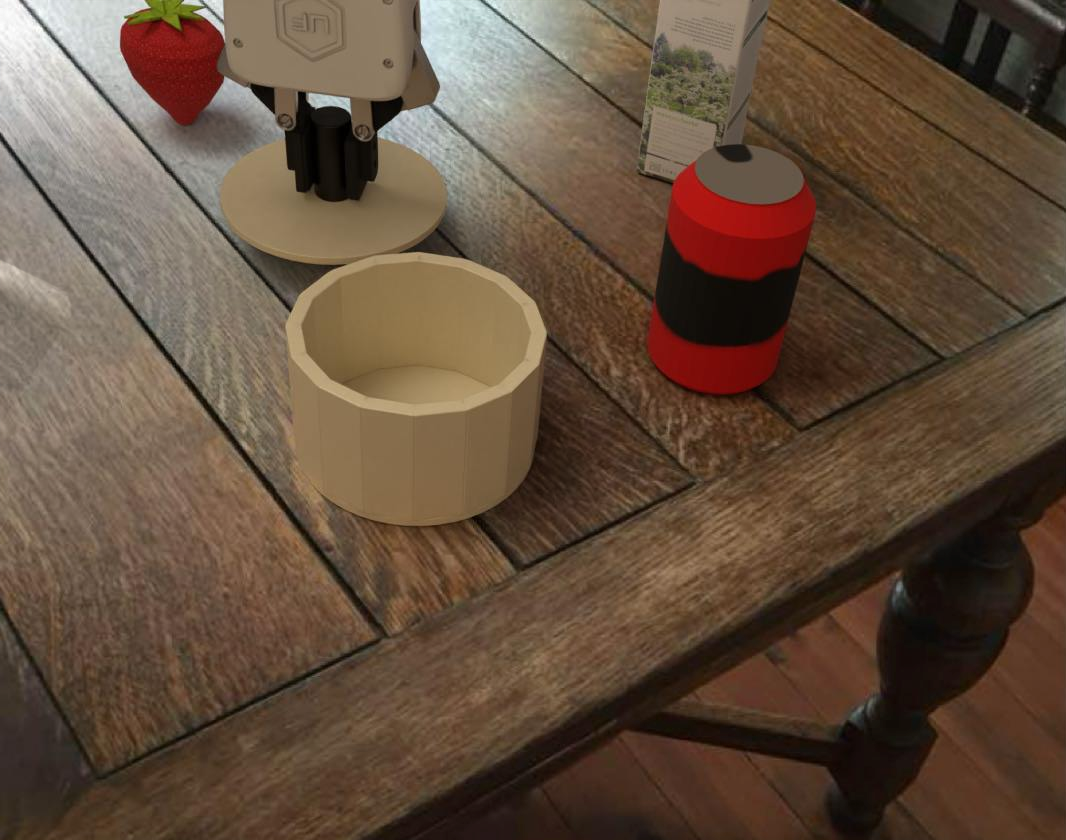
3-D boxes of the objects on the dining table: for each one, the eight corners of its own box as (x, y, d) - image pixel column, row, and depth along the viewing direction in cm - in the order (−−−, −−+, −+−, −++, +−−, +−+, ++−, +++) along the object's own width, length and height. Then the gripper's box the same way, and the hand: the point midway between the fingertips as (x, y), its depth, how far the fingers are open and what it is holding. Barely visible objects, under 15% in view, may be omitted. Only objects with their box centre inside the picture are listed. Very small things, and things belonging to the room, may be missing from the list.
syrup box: (740, 158, 94) (783, -52, 83) (712, 200, 90) (753, -15, 79) (663, 135, 95) (696, -74, 85) (632, 175, 91) (662, -39, 81)
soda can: (744, 307, 82) (784, 128, 73) (797, 387, 77) (847, 205, 69) (627, 324, 80) (654, 142, 72) (674, 407, 75) (709, 222, 67)
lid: (190, 254, 79) (176, 161, 74) (259, 134, 88) (251, 45, 83) (420, 288, 78) (420, 196, 73) (466, 163, 87) (468, 75, 83)
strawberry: (197, 162, 89) (179, 14, 82) (110, 124, 91) (85, -22, 84) (256, 124, 93) (243, -20, 85) (170, 89, 95) (151, -54, 88)
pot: (266, 504, 68) (253, 390, 63) (331, 349, 77) (325, 237, 71) (513, 544, 67) (522, 433, 62) (551, 383, 76) (562, 273, 71)
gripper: (135, -128, 66) (183, 199, 80) (460, -86, 65) (453, 238, 79) (186, -182, 71) (223, 134, 85) (488, -144, 70) (477, 170, 84)
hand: (333, 182), depth 82 cm, fingers closed on lid, 2 cm apart
